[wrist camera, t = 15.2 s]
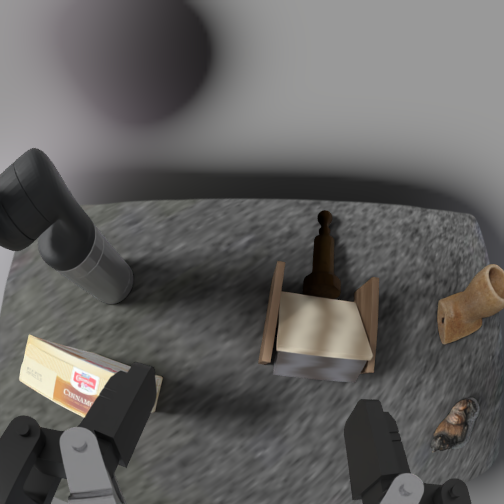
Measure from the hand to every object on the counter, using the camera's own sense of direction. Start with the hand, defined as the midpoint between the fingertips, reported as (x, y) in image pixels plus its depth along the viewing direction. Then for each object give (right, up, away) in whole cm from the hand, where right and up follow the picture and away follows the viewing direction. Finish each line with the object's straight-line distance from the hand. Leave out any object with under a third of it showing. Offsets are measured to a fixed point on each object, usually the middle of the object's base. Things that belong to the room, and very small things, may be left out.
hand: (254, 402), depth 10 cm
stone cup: (+45, -8, +41) cm, 61 cm away
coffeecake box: (-23, -17, +34) cm, 45 cm away
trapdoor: (+10, -10, +36) cm, 39 cm away
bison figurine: (+40, -30, +31) cm, 59 cm away
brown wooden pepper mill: (+12, -2, +39) cm, 40 cm away
